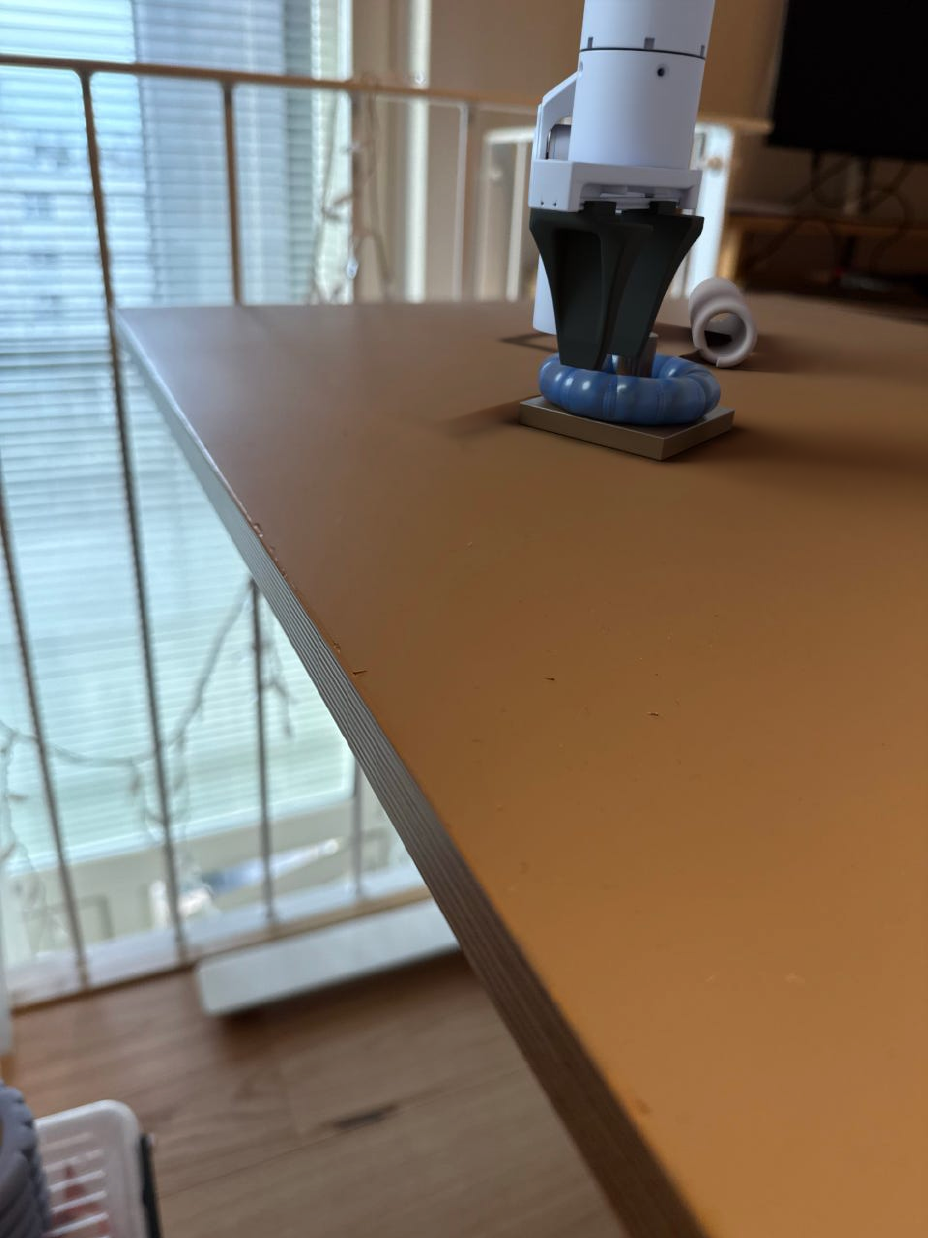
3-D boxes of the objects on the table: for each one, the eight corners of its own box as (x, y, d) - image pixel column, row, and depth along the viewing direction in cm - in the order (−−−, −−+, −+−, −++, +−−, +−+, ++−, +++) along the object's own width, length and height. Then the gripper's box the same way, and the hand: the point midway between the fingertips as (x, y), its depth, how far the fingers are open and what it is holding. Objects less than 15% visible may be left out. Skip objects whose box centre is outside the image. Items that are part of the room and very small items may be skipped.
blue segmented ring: (587, 376, 59) (592, 337, 58) (739, 407, 54) (748, 365, 53) (503, 402, 51) (507, 358, 50) (671, 441, 46) (679, 394, 45)
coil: (767, 310, 68) (747, 281, 83) (703, 297, 68) (696, 271, 84) (747, 374, 70) (731, 334, 86) (685, 361, 70) (681, 323, 86)
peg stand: (597, 398, 59) (609, 313, 56) (731, 429, 54) (749, 338, 52) (517, 423, 52) (526, 327, 50) (661, 461, 48) (678, 358, 45)
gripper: (630, 71, 50) (596, 333, 56) (481, 35, 39) (459, 365, 45) (758, 75, 46) (707, 353, 52) (635, 36, 35) (589, 393, 41)
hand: (601, 360), depth 48 cm, fingers open, 4 cm apart
